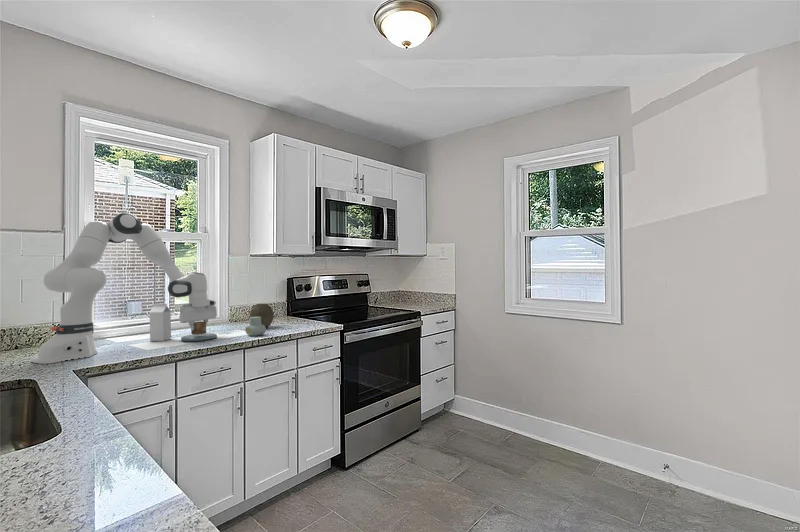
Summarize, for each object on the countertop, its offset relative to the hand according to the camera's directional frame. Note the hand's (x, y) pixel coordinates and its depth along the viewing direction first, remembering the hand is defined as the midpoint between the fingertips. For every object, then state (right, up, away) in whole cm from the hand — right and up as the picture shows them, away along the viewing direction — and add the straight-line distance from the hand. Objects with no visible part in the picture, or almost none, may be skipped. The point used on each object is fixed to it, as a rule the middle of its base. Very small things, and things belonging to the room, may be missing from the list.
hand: (198, 329), depth 223 cm
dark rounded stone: (+22, -5, +34) cm, 41 cm away
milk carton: (-20, -6, 0) cm, 21 cm away
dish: (0, -5, 0) cm, 5 cm away
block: (0, -2, 0) cm, 2 cm away
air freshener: (+27, -5, +9) cm, 29 cm away
